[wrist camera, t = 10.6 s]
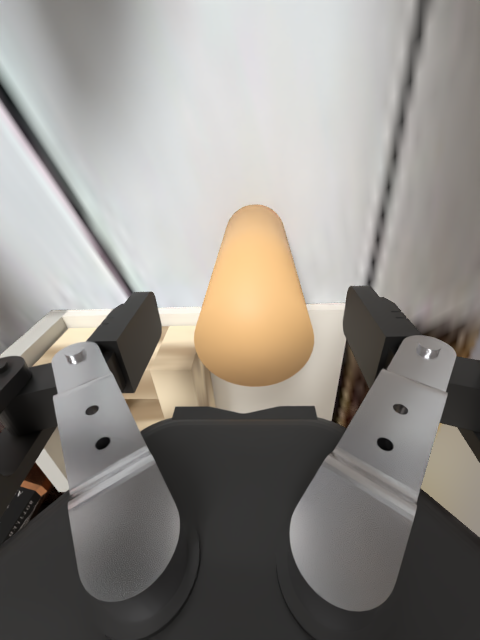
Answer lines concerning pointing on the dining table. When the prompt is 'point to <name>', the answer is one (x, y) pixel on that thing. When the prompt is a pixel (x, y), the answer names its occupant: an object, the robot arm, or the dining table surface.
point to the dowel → (254, 305)
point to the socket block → (158, 375)
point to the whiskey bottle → (25, 503)
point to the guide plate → (299, 390)
